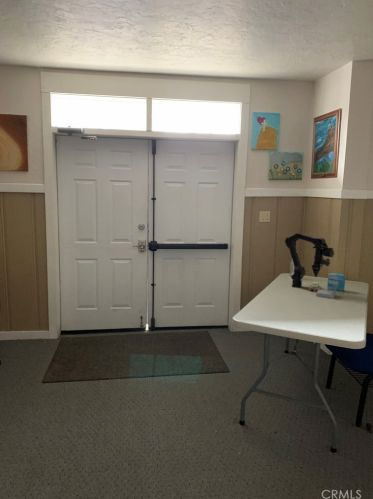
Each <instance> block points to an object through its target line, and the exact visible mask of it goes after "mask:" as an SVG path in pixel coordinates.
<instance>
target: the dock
mask: <svg viewBox="0 0 373 499" xmlns="http://www.w3.org/2000/svg"><path fill="white" fill-rule="evenodd" d="M336 294H337V291H336V290H325V289H324V290H323V289H322V290H317V291H316V292H315V296H316V297H318V298H319V297H321V298H326V299H331V300H332V299H335V297H336Z"/></svg>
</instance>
